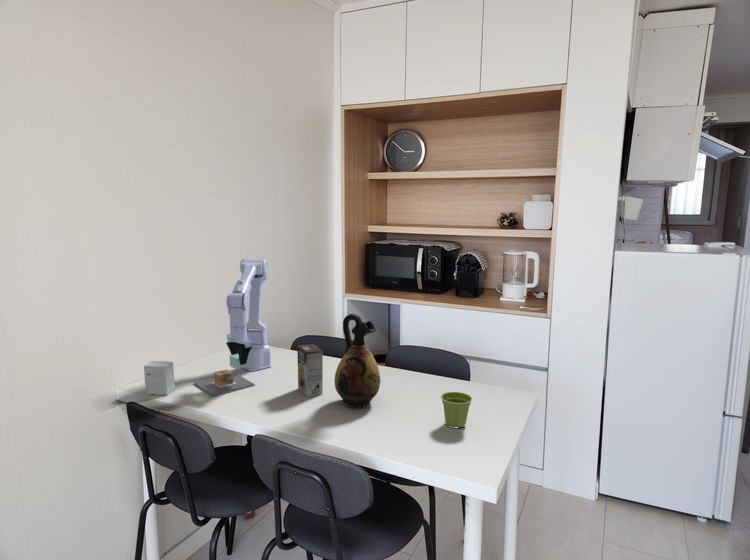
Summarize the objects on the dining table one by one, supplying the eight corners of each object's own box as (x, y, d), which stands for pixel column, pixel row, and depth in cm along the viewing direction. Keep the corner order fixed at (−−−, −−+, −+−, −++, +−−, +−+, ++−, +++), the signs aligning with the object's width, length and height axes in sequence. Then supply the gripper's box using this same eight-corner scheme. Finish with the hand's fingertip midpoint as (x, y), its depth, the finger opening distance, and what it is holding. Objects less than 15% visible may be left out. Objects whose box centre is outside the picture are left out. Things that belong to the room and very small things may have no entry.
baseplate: (234, 374, 193) (234, 372, 193) (254, 385, 182) (254, 383, 181) (194, 384, 183) (193, 382, 182) (212, 396, 171) (212, 394, 171)
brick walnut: (227, 379, 185) (226, 369, 185) (233, 383, 182) (233, 372, 181) (214, 382, 182) (214, 372, 181) (220, 386, 178) (220, 375, 178)
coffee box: (297, 388, 179) (296, 345, 176) (314, 385, 182) (313, 343, 179) (305, 397, 171) (305, 352, 168) (323, 394, 174) (323, 349, 171)
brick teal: (242, 363, 184) (242, 352, 183) (249, 366, 180) (249, 355, 179) (230, 366, 180) (229, 355, 180) (236, 369, 177) (236, 358, 176)
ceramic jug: (389, 400, 169) (390, 314, 164) (362, 416, 156) (363, 323, 152) (349, 389, 178) (349, 308, 174) (321, 403, 166) (320, 316, 161)
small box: (175, 389, 177) (173, 361, 175) (167, 395, 171) (165, 366, 170) (154, 388, 178) (152, 360, 176) (145, 394, 172) (143, 365, 171)
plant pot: (444, 415, 157) (444, 389, 156) (473, 420, 154) (474, 394, 152) (436, 428, 149) (437, 400, 147) (468, 433, 145) (469, 405, 144)
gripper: (218, 323, 180) (220, 359, 182) (237, 331, 170) (239, 369, 172) (236, 320, 185) (237, 356, 187) (256, 328, 175) (257, 365, 177)
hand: (239, 362), depth 180 cm, fingers closed on brick teal, 5 cm apart
